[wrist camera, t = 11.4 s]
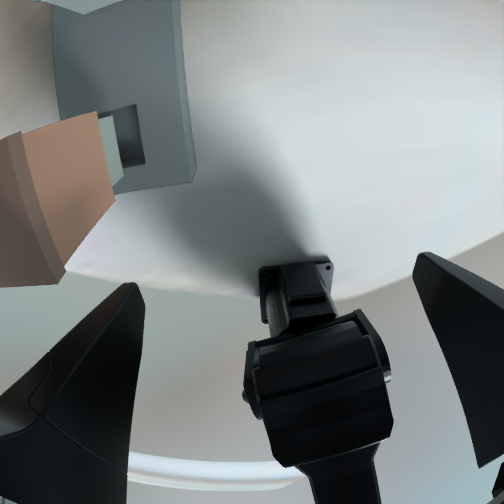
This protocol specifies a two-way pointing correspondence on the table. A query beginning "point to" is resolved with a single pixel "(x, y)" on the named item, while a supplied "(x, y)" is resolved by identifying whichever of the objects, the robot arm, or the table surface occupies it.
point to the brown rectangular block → (53, 195)
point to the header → (129, 85)
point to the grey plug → (81, 4)
